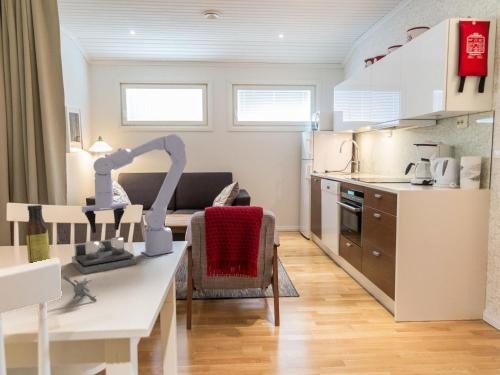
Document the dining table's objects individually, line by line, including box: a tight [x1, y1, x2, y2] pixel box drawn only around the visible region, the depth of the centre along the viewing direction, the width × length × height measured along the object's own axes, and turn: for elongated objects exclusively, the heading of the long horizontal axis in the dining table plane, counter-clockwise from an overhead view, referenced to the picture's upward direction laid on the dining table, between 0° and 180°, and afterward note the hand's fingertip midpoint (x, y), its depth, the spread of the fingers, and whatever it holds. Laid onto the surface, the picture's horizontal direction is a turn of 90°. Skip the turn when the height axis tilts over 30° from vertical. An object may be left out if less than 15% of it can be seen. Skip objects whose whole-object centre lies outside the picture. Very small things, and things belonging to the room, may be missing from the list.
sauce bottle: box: [25, 203, 51, 264], centre depth 117 cm, size 7×6×20 cm
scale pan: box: [77, 249, 135, 266], centre depth 116 cm, size 15×10×1 cm, turn 128°
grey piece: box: [62, 274, 98, 303], centre depth 88 cm, size 10×6×9 cm
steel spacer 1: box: [84, 240, 100, 260], centre depth 113 cm, size 4×4×5 cm
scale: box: [71, 238, 137, 275], centre depth 118 cm, size 16×16×6 cm
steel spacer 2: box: [110, 236, 126, 255], centre depth 118 cm, size 4×4×5 cm
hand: (105, 231), depth 125 cm, fingers open, 7 cm apart
